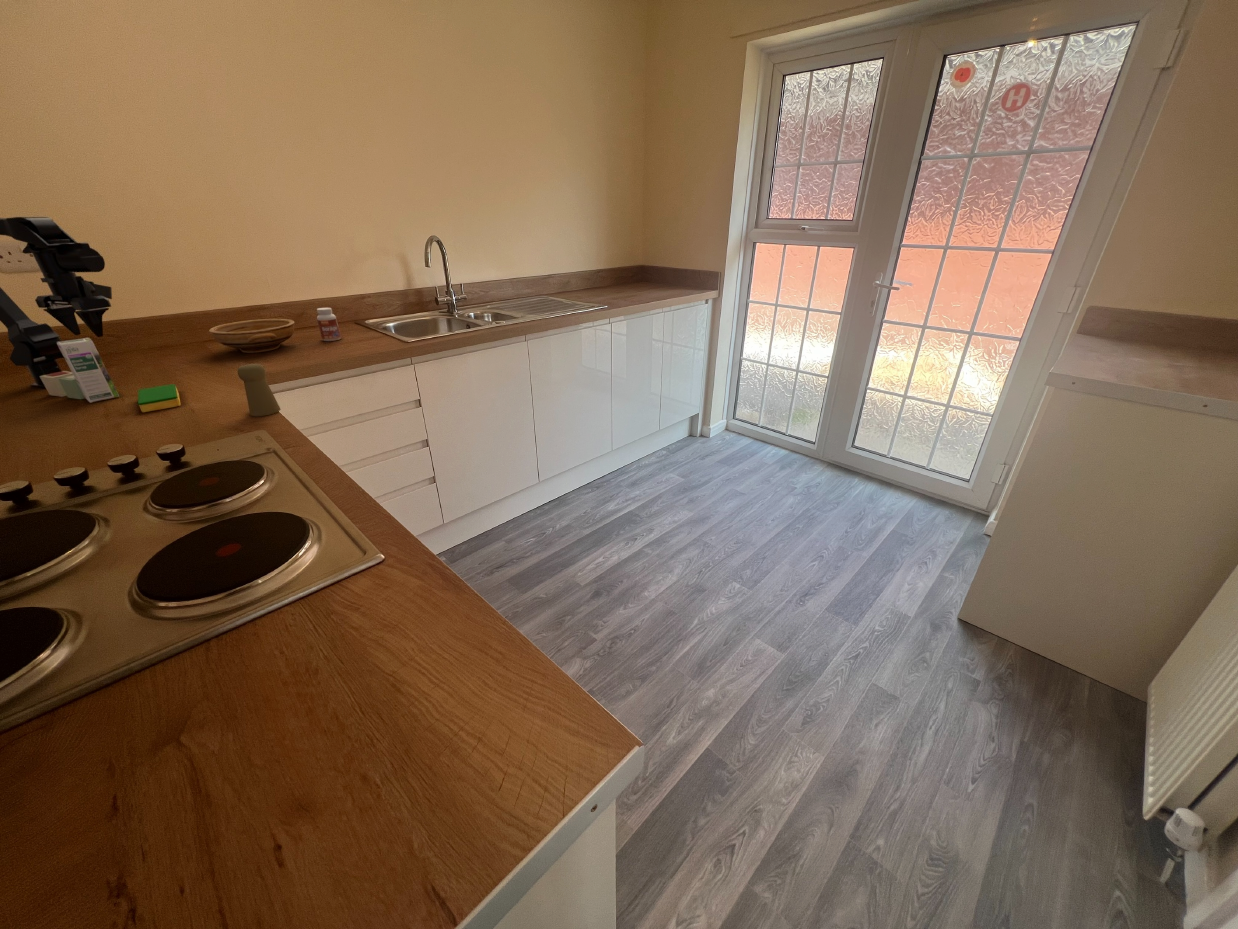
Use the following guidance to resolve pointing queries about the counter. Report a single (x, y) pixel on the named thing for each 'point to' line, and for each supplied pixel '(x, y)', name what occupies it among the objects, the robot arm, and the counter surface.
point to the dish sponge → (158, 398)
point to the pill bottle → (328, 325)
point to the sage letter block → (71, 387)
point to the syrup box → (88, 369)
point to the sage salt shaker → (258, 390)
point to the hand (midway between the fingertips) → (89, 335)
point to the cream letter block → (55, 383)
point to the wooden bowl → (254, 334)
